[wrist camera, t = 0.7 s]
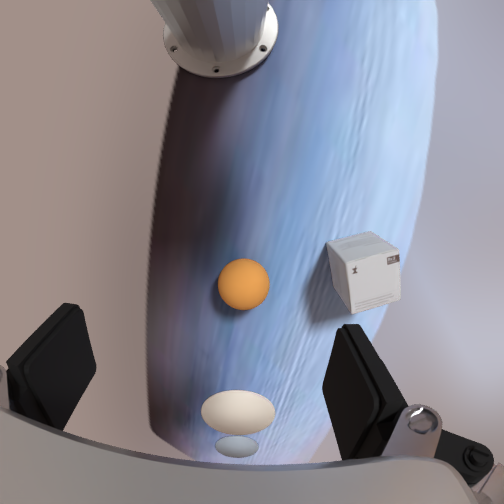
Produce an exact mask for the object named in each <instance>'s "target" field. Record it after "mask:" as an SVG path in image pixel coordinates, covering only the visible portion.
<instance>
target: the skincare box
mask: <svg viewBox="0 0 504 504" xmlns="http://www.w3.org/2000/svg"><path fill="white" fill-rule="evenodd" d="M326 246H327V251H328V257H329V263H330V269H331V275H332V282H333V287H334V288H335V290H336V291H337V293H338V295H339V296H340V298H341V299H342V301H343V302H344V304H345V305H346V307H347V308H348V310H349V312H350V313H351V314H355V313H358V312H362V311H365V310H369V309H372V308H375V307H379V306H382V305H385V304H388V303H392V302H395V301H398V300H400V297H401V290H400V260H399V249H398V248H396V247H395V246H393V245H391V244H390V243H388V242H387V241H385V240H384V239H382V238H381V237H379V236H378V235H376V234H374V233H373V232H372V231H368V232H364V233H360V234H356V235H352V236H348V237H344V238H340V239H336V240H332V241H328V242H326Z"/></svg>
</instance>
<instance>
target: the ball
mask: <svg viewBox="0 0 504 504" xmlns="http://www.w3.org/2000/svg"><path fill="white" fill-rule="evenodd" d="M218 290H219V293H220V295H221V297H222V299H223V300H224V301H225V303H227V304H228V305H229V306H231V307H233V308H235V309H239V310H249V309H252V308H255V307H257V306H258V305H260V304H261V303H262V302H263V301H264V300H265V298H266V296H267V294H268V291H269V277H268V274H267V272H266V271H265V269H264V268H263V267H262V266H261V265H260V264H259V263H257V262H256V261H253V260H250V259H237V260H234V261H232V262H230V263H229V264H227V265H226V266H225V267H224V268H223V270H222V271H221V273H220V276H219V279H218Z"/></svg>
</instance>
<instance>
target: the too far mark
mask: <svg viewBox="0 0 504 504" xmlns="http://www.w3.org/2000/svg"><path fill="white" fill-rule="evenodd" d="M215 447H216V450H217V451H218V452H219V453H221V454H223V455H225V456H228V457H235V458H241V457H247V456H251V455H253V454H254V453H256V452H257V451H258V443H257V442H256V441H255V440H253V439H251V438H248V437H244V436H227V437H224V438H221V439H219V440H218V441H217V442H216V445H215Z"/></svg>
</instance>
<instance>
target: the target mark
mask: <svg viewBox="0 0 504 504" xmlns="http://www.w3.org/2000/svg"><path fill="white" fill-rule="evenodd" d="M201 414H202V417H203V419H204V421H205V422H206V423H207V424H208V425H209V426H210V427H212V428H213V429H215V430H217V431H220V432H223V433H226V434H232V435H247V434H252V433H256V432H259V431H261V430H263V429H265V428H266V427H268V426H269V425H270V424H271V423H272V421H273V420H274V417H275V408H274V406H273V404H272V403H271V402H270V401H269V400H268V399H267V398H265V397H264V396H262V395H260V394H257V393H255V392H251V391H245V390H228V391H223V392H219V393H216V394H214V395H212V396H210V397H209V398H208V399H207V400H206V401H205V402H204V403H203V405H202V408H201Z"/></svg>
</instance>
